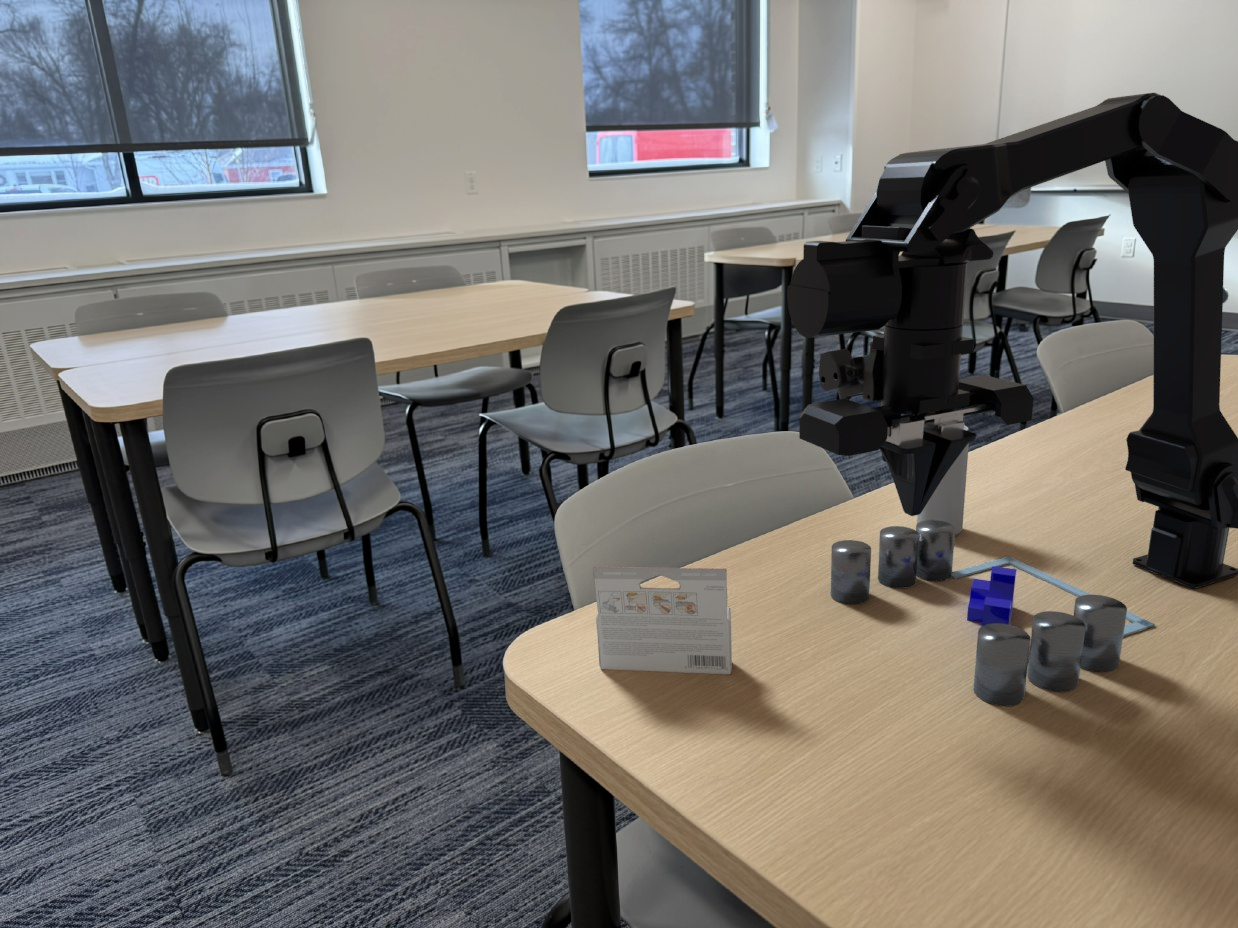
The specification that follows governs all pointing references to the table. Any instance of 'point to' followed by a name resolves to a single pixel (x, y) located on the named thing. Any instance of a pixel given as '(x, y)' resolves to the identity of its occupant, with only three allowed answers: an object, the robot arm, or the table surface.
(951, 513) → the beverage can
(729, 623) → the ink cartridge box
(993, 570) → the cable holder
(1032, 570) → the taped bay
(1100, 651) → the spacers
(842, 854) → the table surface
